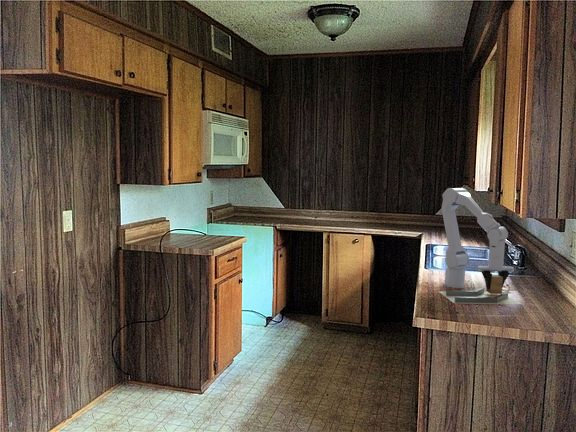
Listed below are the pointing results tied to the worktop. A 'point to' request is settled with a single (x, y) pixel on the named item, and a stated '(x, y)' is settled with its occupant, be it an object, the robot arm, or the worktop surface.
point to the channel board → (485, 294)
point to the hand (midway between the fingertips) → (494, 288)
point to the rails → (475, 299)
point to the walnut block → (495, 285)
